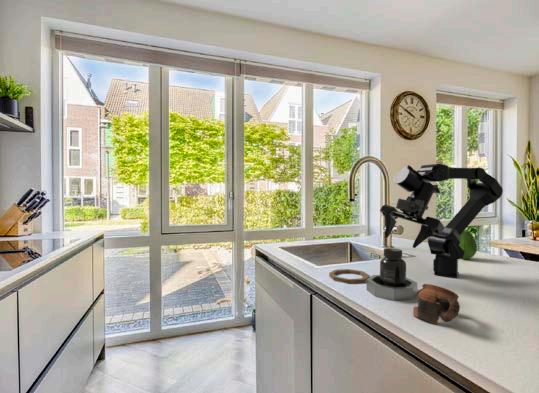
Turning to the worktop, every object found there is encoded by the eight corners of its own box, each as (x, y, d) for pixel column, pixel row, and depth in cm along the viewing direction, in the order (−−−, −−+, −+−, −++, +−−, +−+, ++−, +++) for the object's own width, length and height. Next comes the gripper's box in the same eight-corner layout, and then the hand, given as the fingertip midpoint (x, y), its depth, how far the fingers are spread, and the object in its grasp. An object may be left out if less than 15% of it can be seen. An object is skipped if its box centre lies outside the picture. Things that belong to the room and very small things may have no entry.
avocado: (449, 258, 124) (449, 229, 123) (461, 256, 127) (461, 227, 127) (469, 262, 116) (469, 231, 116) (481, 260, 120) (481, 230, 119)
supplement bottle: (411, 294, 82) (412, 251, 82) (391, 297, 80) (391, 253, 80) (394, 286, 89) (394, 246, 88) (374, 289, 87) (374, 248, 86)
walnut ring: (373, 276, 100) (373, 273, 99) (360, 285, 90) (360, 282, 90) (339, 270, 107) (339, 267, 107) (324, 278, 97) (324, 275, 97)
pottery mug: (401, 313, 72) (411, 280, 74) (436, 329, 72) (445, 296, 74) (435, 321, 60) (446, 282, 62) (477, 341, 60) (486, 301, 63)
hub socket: (420, 290, 86) (420, 279, 86) (409, 303, 76) (409, 291, 76) (376, 282, 93) (376, 272, 93) (361, 293, 83) (361, 282, 83)
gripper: (383, 182, 98) (363, 224, 97) (443, 194, 84) (420, 244, 82) (396, 196, 106) (377, 235, 104) (453, 210, 91) (432, 256, 90)
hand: (399, 242), depth 95 cm, fingers open, 9 cm apart
